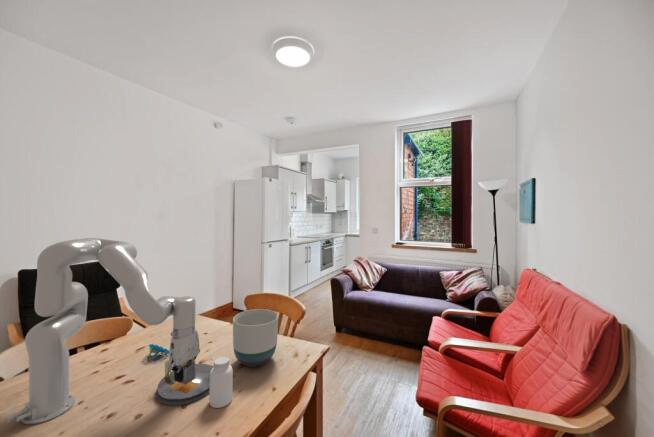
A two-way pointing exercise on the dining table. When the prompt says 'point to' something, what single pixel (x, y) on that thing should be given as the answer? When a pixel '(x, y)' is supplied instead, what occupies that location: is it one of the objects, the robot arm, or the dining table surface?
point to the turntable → (180, 391)
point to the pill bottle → (221, 383)
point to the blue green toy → (156, 350)
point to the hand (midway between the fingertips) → (183, 377)
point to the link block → (187, 372)
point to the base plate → (178, 403)
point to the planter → (255, 336)
